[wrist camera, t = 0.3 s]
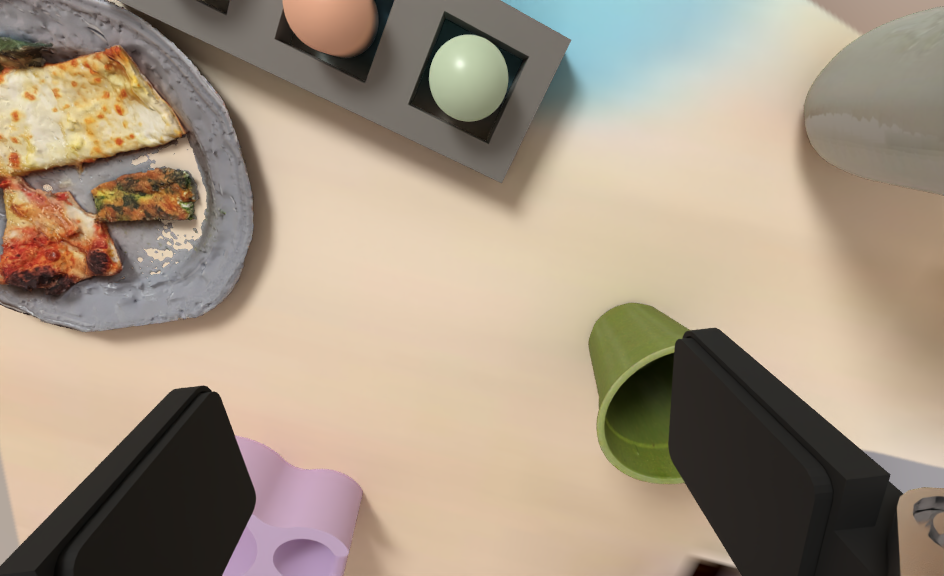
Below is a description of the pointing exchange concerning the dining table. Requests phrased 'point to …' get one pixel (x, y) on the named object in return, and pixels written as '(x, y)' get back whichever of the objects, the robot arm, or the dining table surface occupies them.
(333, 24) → the peach rounded dome
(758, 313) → the dining table surface
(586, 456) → the dining table surface
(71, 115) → the food plate
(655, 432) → the plant pot
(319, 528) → the clip
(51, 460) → the dining table surface
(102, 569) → the robot arm
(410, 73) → the button panel
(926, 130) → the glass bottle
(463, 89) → the sage button
